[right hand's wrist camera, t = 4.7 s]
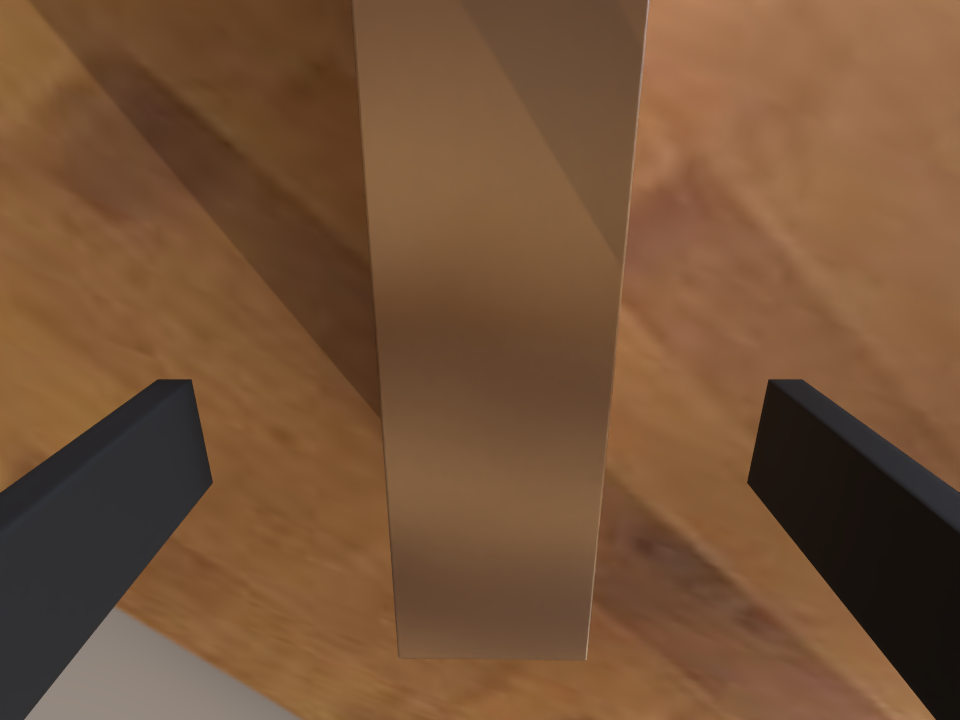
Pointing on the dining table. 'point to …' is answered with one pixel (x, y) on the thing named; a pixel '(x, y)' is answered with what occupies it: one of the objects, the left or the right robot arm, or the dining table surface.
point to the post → (496, 304)
